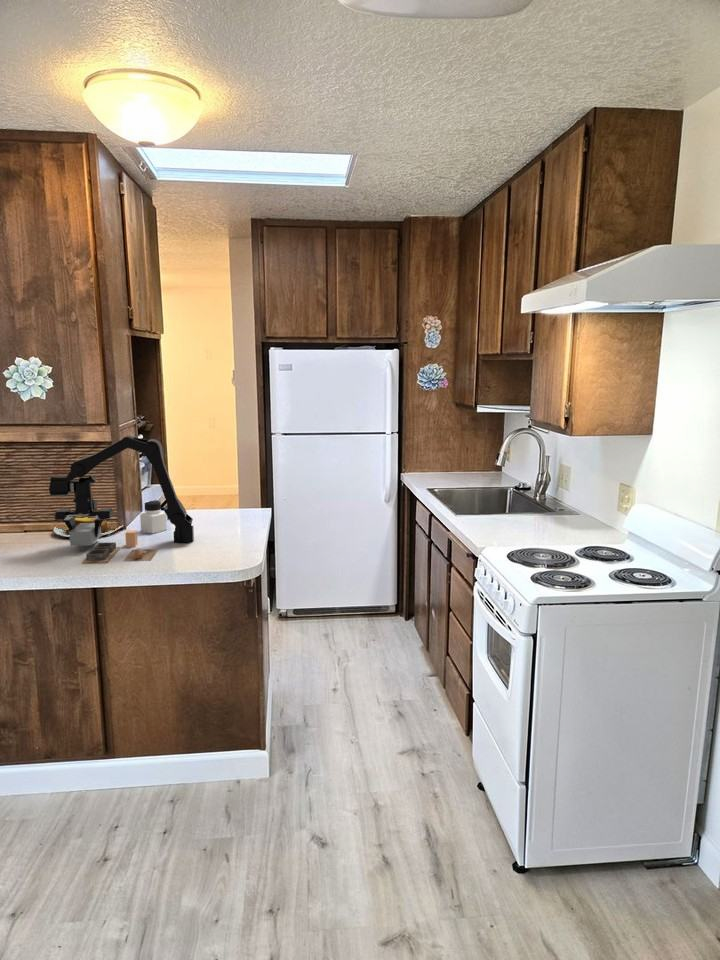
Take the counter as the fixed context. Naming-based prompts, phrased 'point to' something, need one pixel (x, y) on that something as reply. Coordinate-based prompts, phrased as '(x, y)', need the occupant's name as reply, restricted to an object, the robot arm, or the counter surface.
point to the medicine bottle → (153, 518)
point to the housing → (83, 534)
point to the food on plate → (86, 520)
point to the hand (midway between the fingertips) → (86, 537)
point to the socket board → (101, 553)
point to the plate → (145, 556)
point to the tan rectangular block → (131, 538)
